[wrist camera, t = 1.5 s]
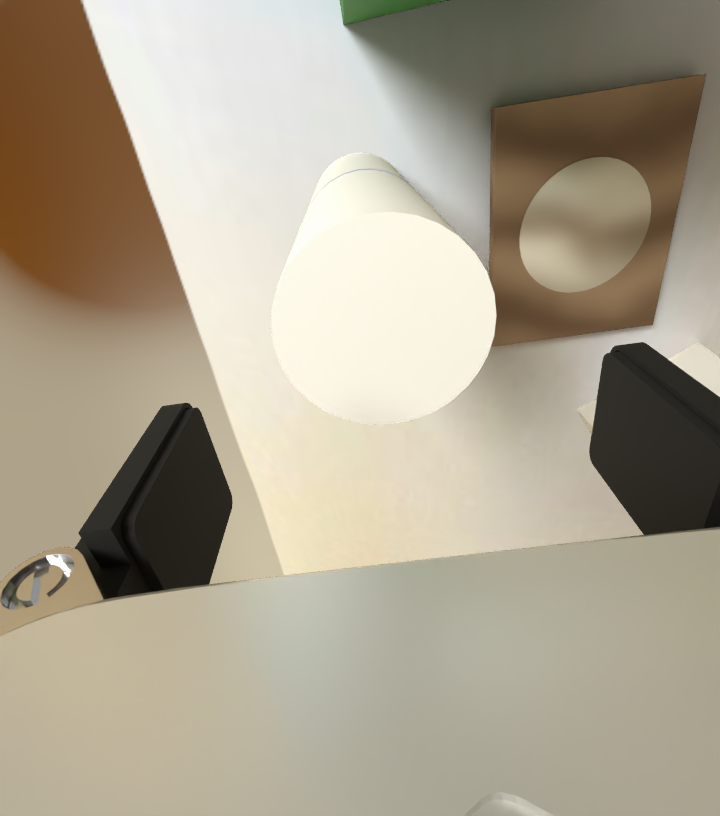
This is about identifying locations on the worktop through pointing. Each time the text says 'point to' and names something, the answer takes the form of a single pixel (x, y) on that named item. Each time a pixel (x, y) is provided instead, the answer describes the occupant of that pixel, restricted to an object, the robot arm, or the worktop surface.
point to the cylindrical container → (379, 300)
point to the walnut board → (586, 207)
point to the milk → (693, 361)
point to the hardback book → (378, 8)
